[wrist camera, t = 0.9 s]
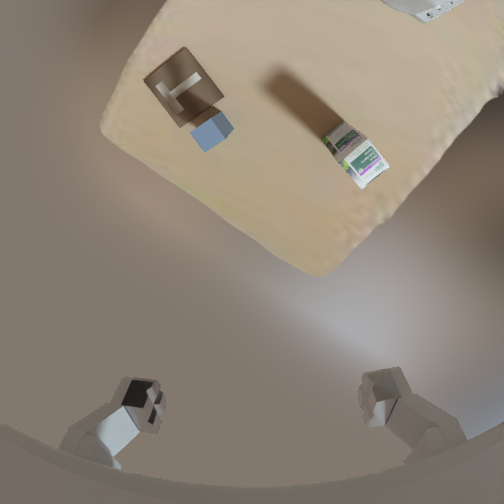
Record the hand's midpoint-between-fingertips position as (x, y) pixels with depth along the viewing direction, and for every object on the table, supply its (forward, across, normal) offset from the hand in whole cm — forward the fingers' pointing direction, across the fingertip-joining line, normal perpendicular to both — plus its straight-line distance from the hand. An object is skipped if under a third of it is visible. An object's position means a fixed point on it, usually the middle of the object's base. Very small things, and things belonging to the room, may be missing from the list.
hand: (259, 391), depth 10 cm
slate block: (+46, +7, -12) cm, 48 cm away
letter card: (+44, +12, -20) cm, 50 cm away
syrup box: (+45, -16, -8) cm, 48 cm away
